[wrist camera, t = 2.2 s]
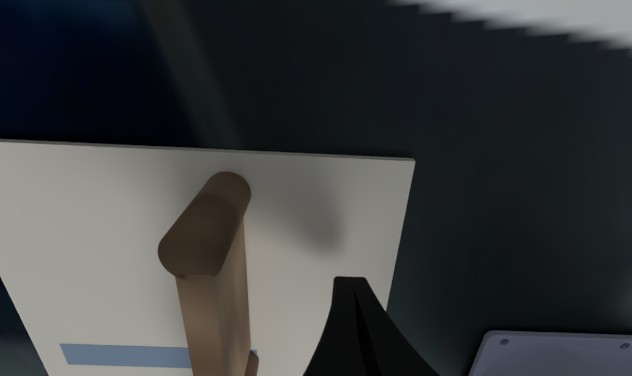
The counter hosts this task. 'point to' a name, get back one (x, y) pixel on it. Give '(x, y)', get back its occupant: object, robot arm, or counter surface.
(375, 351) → the robot arm
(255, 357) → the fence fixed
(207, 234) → the swing rail
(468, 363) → the counter surface
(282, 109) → the counter surface
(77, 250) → the board
